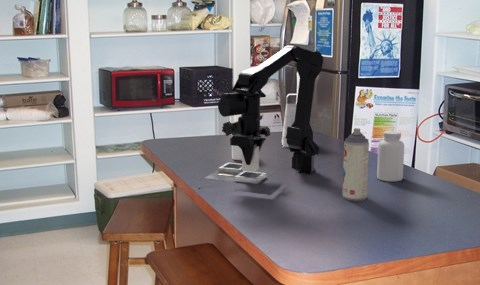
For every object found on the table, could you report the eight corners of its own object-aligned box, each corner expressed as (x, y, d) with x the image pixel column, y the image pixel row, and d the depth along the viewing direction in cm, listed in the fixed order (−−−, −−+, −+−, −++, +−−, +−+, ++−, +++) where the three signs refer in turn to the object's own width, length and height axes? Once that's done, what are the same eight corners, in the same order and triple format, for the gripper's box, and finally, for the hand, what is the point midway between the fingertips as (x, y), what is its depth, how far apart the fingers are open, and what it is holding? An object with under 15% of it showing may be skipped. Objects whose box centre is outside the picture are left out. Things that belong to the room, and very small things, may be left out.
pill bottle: (404, 177, 200) (407, 131, 196) (399, 183, 192) (402, 135, 189) (379, 174, 203) (381, 129, 200) (374, 180, 196) (376, 133, 193)
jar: (239, 164, 216) (238, 130, 213) (226, 160, 222) (226, 127, 220) (260, 161, 221) (260, 128, 218) (247, 156, 227) (247, 124, 225)
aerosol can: (345, 193, 183) (347, 125, 178) (368, 195, 180) (371, 127, 176) (339, 199, 176) (341, 130, 172) (363, 202, 174) (366, 131, 170)
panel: (275, 175, 203) (275, 166, 202) (258, 188, 188) (258, 179, 188) (224, 169, 209) (224, 162, 209) (204, 181, 195) (203, 173, 194)
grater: (309, 147, 243) (311, 96, 239) (282, 147, 243) (283, 96, 239) (307, 141, 253) (308, 92, 249) (281, 141, 253) (282, 92, 249)
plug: (258, 168, 193) (259, 144, 192) (254, 171, 190) (254, 147, 188) (246, 167, 195) (246, 143, 193) (242, 170, 191) (242, 146, 190)
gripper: (237, 107, 200) (238, 154, 203) (213, 116, 183) (214, 168, 186) (270, 108, 196) (270, 157, 199) (248, 118, 179) (248, 171, 182)
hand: (250, 163), depth 192 cm, fingers closed on plug, 4 cm apart
